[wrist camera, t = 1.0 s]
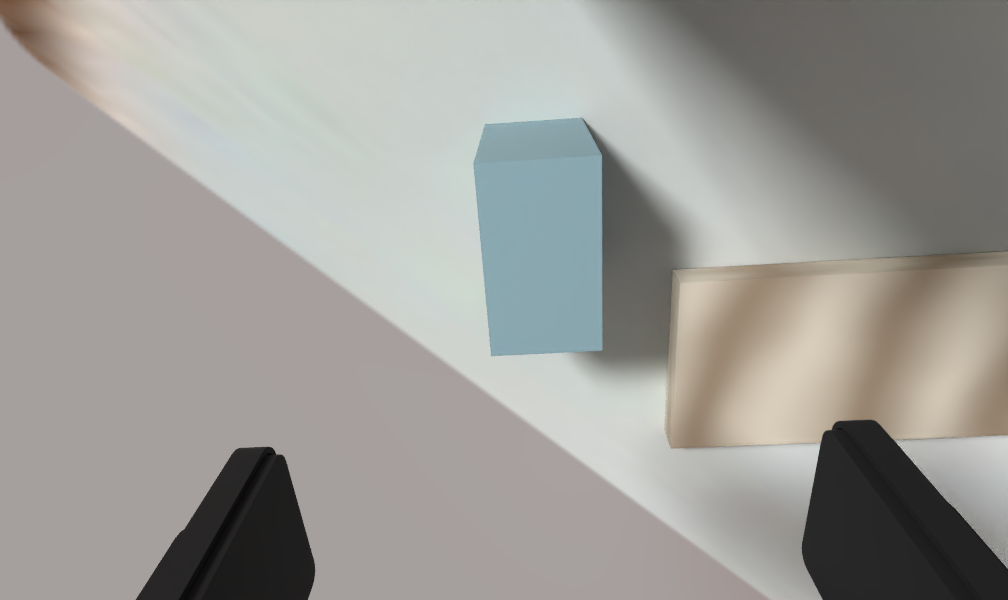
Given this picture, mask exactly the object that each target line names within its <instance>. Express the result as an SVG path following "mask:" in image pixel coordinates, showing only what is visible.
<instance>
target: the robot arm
mask: <svg viewBox="0 0 1008 600" xmlns="http://www.w3.org/2000/svg"><path fill="white" fill-rule="evenodd" d="M802 554H803V559H804V563H805V565H806V568H807V570H808V572H809V574H810V576H811V578H812V580H813V582H814V583H815V585H816V587H817V589H818V591H819V593H820V595H821V597H822V599H823V600H1008V569H1007V568H1006V567H1005V565H1004V564H1003V563H1002V562H1001V561H1000V560H999V559H998V557H997V556H996V555H995V554H994V553H993V552H992V551H991V549H990V548H989V547H988V546H987V545H986V544H985V542H984V541H983V540H982V539H981V538H980V537H979V536H978V534H977V533H976V532H975V531H974V530H973V529H972V528H971V526H970V525H969V524H968V523H967V522H966V521H965V520H964V518H963V517H962V516H961V515H960V514H959V513H958V512H957V510H956V509H955V508H954V507H952V506H951V505H950V504H949V503H948V502H947V501H946V500H945V499H944V498H943V496H942V495H941V494H940V493H939V492H938V491H937V490H936V488H935V487H934V486H933V485H932V484H931V483H930V481H929V480H928V479H927V478H926V477H925V476H924V475H923V473H922V472H921V471H920V470H919V469H918V468H917V467H916V465H915V464H914V463H913V462H912V461H911V460H910V458H909V457H908V456H907V455H906V454H905V453H904V452H903V450H902V449H901V448H900V447H899V446H898V445H897V444H896V442H895V441H894V440H893V439H892V438H891V437H890V435H889V434H888V433H887V432H886V431H885V430H884V429H883V427H882V426H881V425H880V424H879V423H878V422H876V421H875V420H871V419H870V420H848V421H837V422H835V424H834V425H833V427H832V430H827V431H825V432H824V433H823V436H822V440H821V445H820V451H819V456H818V462H817V467H816V472H815V478H814V483H813V488H812V494H811V499H810V505H809V510H808V515H807V521H806V526H805V531H804V537H803V542H802ZM314 576H315V564H314V559H313V556H312V553H311V548H310V545H309V542H308V538H307V534H306V531H305V527H304V524H303V520H302V516H301V513H300V509H299V506H298V502H297V498H296V495H295V492H294V488H293V484H292V481H291V477H290V474H289V470H288V467H287V463H286V460H285V457H284V456H283V455H276V453H275V451H274V449H273V448H271V447H254V448H239V449H236V450H235V451H234V453H233V454H232V455H231V457H230V458H229V460H228V462H227V463H226V465H225V466H224V468H223V469H222V471H221V473H220V474H219V476H218V477H217V479H216V481H215V482H214V484H213V485H212V487H211V488H210V490H209V491H208V493H207V495H206V496H205V498H204V499H203V501H202V502H201V504H200V506H199V507H198V509H197V510H196V512H195V514H194V515H193V517H192V518H191V520H190V521H189V523H188V525H187V526H186V528H185V529H184V530H183V531H181V532H180V533H179V535H178V536H177V537H176V538H175V539H174V541H173V543H172V544H171V546H170V547H169V549H168V551H167V552H166V554H165V555H164V557H163V558H162V560H161V561H160V563H159V564H158V566H157V568H156V569H155V571H154V572H153V574H152V575H151V577H150V578H149V580H148V582H147V583H146V585H145V586H144V588H143V590H142V591H141V593H140V594H139V596H138V597H137V599H136V600H308V597H309V594H310V592H311V589H312V586H313V582H314Z"/></svg>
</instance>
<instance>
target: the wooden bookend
mask: <svg viewBox="0 0 1008 600" xmlns="http://www.w3.org/2000/svg"><path fill="white" fill-rule="evenodd" d="M870 419H871V420H875V421H876V422H878V423H879V424H880V425H881V426H882V427H883V429H884V430H885V431H886V432H887V433H888V434H889V435H890V437H891V438H892V439H893V440H895V439H920V438H945V437H971V436H996V435H1008V251H1002V252H984V253H965V254H947V255H929V256H911V257H893V258H875V259H857V260H839V261H820V262H802V263H784V264H766V265H748V266H730V267H712V268H694V269H676V270H673V272H672V292H671V312H670V332H669V352H668V372H667V392H666V412H665V432H666V435H667V438H668V441H669V444H670V447H671V448H695V447H720V446H745V445H770V444H795V443H820V442H821V440H822V436H823V433H824V432H825V431H827V430H832V427H833V425H834V424H835V422H837V421H848V420H870Z"/></svg>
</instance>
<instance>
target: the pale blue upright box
mask: <svg viewBox="0 0 1008 600" xmlns="http://www.w3.org/2000/svg"><path fill="white" fill-rule="evenodd" d="M474 174H475V185H476V196H477V207H478V218H479V228H480V239H481V250H482V261H483V272H484V282H485V293H486V304H487V315H488V326H489V336H490V347H491V356H503V355H523V354H544V353H564V352H585V351H602V154H601V152H600V151H599V149H598V147H597V145H596V143H595V141H594V139H593V138H592V136H591V134H590V132H589V130H588V128H587V126H586V125H585V123H584V121H583V119H582V118H572V119H557V120H542V121H528V122H513V123H499V124H485V126H484V130H483V133H482V137H481V140H480V143H479V147H478V150H477V153H476V157H475V160H474Z"/></svg>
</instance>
